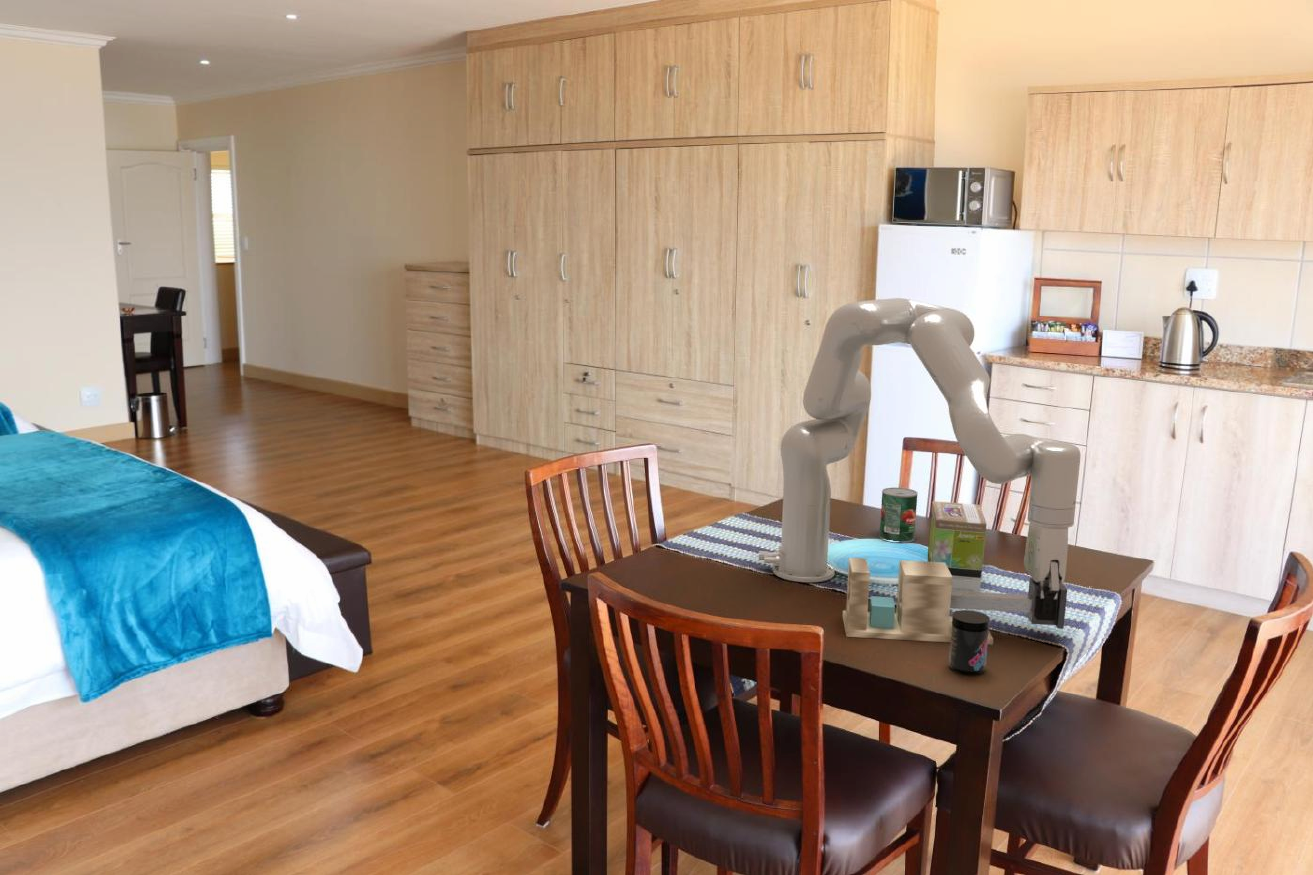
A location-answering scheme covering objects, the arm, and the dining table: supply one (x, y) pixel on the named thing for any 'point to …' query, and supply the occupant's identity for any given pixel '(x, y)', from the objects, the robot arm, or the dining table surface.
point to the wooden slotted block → (904, 603)
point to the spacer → (882, 612)
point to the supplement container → (969, 642)
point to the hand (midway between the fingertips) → (1041, 613)
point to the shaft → (1012, 602)
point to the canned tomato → (898, 514)
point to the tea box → (958, 542)
